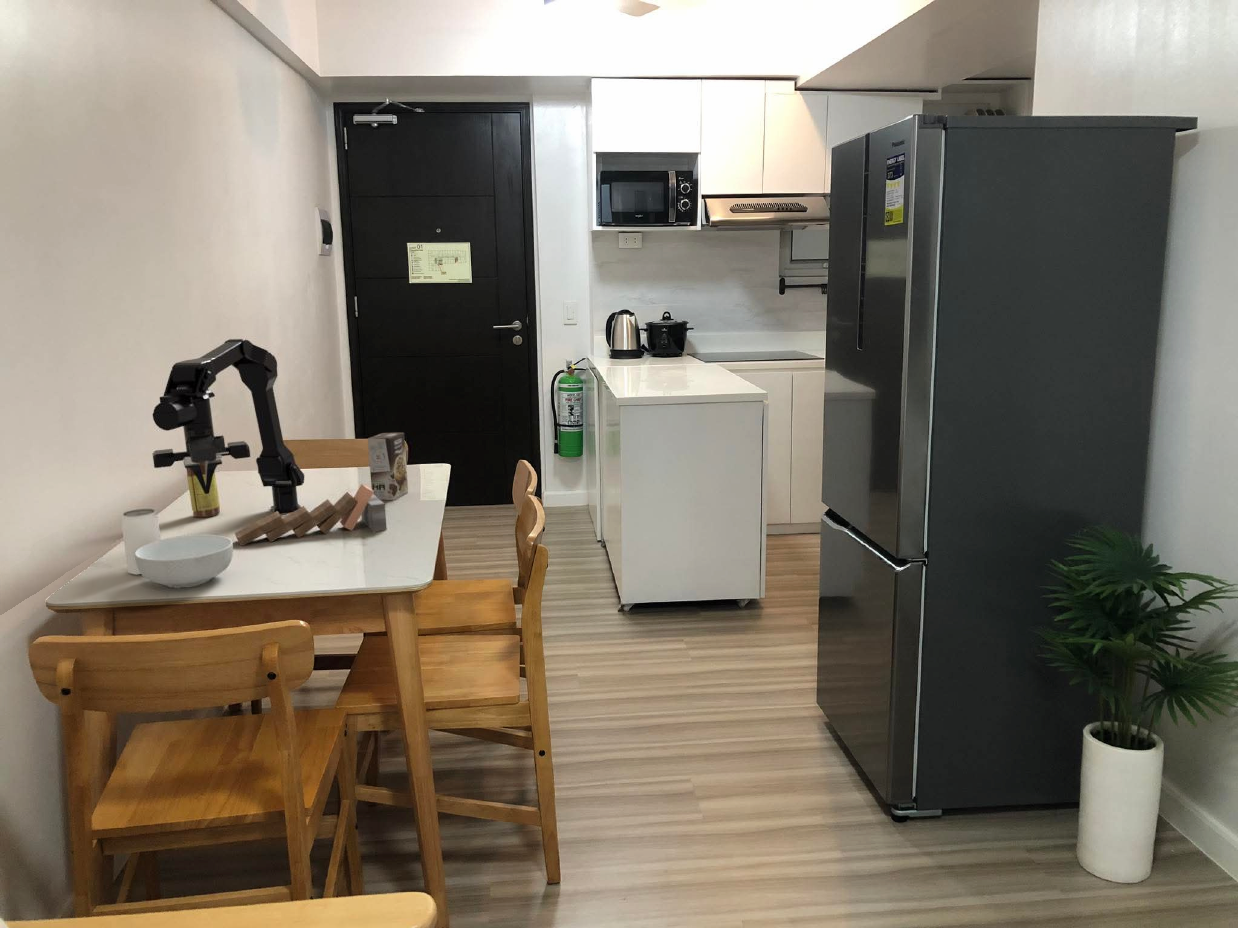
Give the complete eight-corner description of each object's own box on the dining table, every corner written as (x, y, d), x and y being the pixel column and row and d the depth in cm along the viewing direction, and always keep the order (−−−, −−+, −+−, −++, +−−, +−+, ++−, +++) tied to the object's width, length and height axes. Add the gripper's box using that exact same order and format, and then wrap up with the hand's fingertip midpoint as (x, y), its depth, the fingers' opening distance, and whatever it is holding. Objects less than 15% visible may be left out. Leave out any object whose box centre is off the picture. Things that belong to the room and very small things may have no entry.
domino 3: (293, 531, 211) (331, 503, 213) (290, 526, 215) (327, 499, 218) (298, 538, 211) (337, 510, 214) (295, 532, 216) (332, 506, 219)
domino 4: (319, 528, 213) (351, 496, 215) (315, 523, 217) (347, 491, 219) (325, 534, 214) (358, 501, 216) (321, 529, 218) (353, 497, 220)
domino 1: (236, 538, 205) (280, 515, 209) (234, 533, 210) (277, 510, 213) (241, 546, 206) (284, 523, 209) (239, 540, 211) (281, 518, 214)
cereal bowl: (136, 601, 172) (131, 564, 171) (141, 576, 187) (136, 541, 186) (237, 587, 179) (233, 550, 178) (234, 563, 194) (230, 529, 192)
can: (136, 566, 193) (128, 508, 191) (169, 565, 194) (162, 507, 192) (122, 576, 187) (114, 517, 185) (156, 574, 188) (149, 515, 185)
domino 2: (265, 534, 208) (307, 510, 211) (262, 529, 212) (303, 505, 216) (270, 542, 209) (312, 517, 212) (267, 536, 213) (308, 513, 216)
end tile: (343, 527, 215) (366, 487, 216) (339, 521, 220) (361, 483, 220) (351, 530, 216) (374, 491, 217) (347, 525, 221) (369, 487, 221)
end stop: (361, 519, 226) (359, 495, 224) (374, 518, 227) (372, 493, 226) (373, 531, 215) (371, 505, 214) (386, 529, 216) (384, 503, 215)
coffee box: (394, 500, 244) (390, 438, 241) (371, 500, 246) (366, 437, 242) (409, 492, 253) (405, 432, 250) (386, 491, 254) (382, 431, 251)
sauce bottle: (226, 512, 236) (217, 433, 232) (207, 519, 230) (198, 437, 226) (204, 511, 238) (195, 432, 234) (186, 517, 233) (176, 436, 229)
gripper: (149, 432, 191) (160, 508, 194) (248, 422, 199) (257, 495, 202) (148, 424, 201) (158, 496, 204) (243, 415, 209) (251, 484, 212)
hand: (206, 493), depth 205 cm, fingers closed
